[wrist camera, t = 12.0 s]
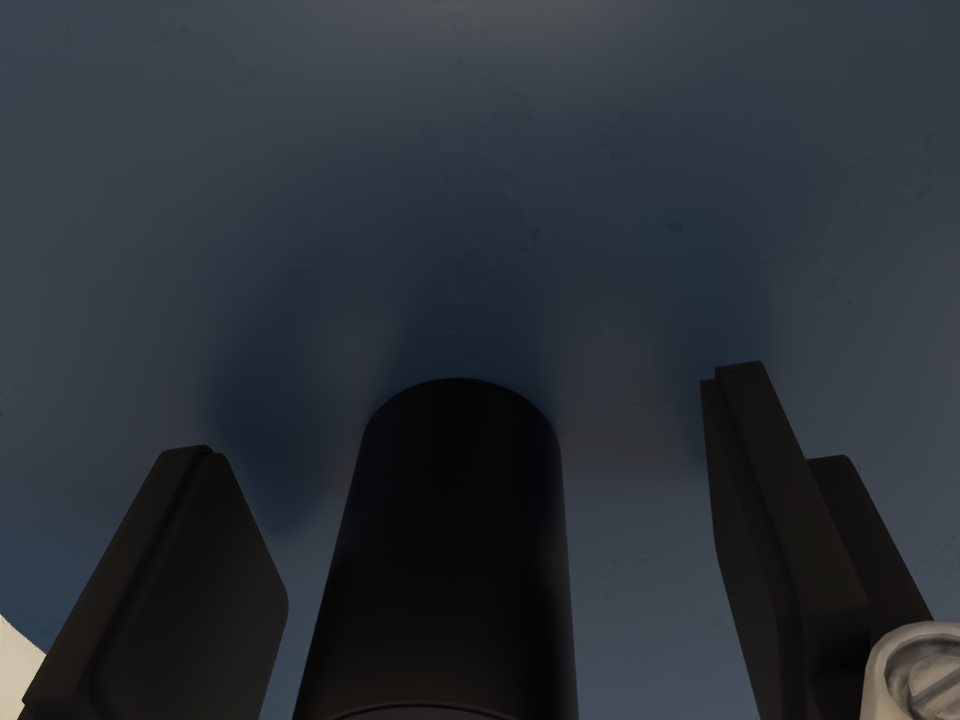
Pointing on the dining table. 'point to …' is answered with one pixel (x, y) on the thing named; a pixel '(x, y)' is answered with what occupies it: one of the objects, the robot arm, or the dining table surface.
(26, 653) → the dining table surface
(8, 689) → the dining table surface
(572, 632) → the lid
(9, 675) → the dining table surface
